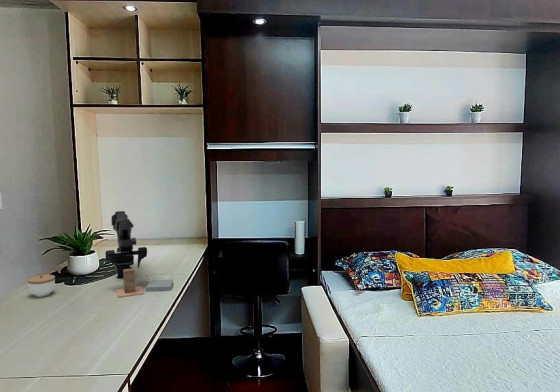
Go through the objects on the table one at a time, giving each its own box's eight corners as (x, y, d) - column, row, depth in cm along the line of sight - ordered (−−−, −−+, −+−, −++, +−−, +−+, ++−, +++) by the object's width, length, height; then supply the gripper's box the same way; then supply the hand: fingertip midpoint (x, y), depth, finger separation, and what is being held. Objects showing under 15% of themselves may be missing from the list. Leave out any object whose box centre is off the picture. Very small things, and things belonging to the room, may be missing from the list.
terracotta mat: (116, 290, 189) (116, 289, 189) (140, 287, 194) (140, 286, 193) (117, 297, 179) (117, 296, 179) (143, 294, 184) (143, 292, 184)
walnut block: (124, 290, 187) (123, 269, 186) (134, 288, 189) (133, 268, 188) (124, 293, 183) (124, 272, 182) (135, 291, 185) (134, 270, 184)
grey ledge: (146, 291, 187) (146, 287, 187) (150, 284, 198) (149, 280, 198) (170, 290, 189) (170, 286, 188) (172, 283, 199) (172, 279, 199)
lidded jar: (61, 292, 186) (60, 272, 185) (40, 299, 176) (39, 279, 175) (44, 289, 190) (42, 270, 189) (23, 297, 180) (21, 276, 179)
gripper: (104, 234, 187) (106, 262, 179) (146, 230, 195) (150, 258, 187) (104, 246, 195) (106, 274, 187) (144, 243, 203) (148, 270, 195)
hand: (128, 269), depth 188 cm, fingers open, 9 cm apart
